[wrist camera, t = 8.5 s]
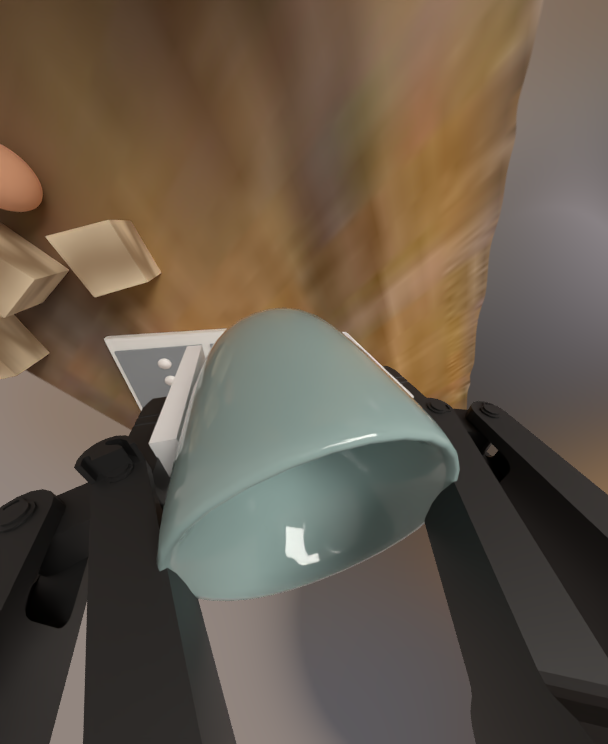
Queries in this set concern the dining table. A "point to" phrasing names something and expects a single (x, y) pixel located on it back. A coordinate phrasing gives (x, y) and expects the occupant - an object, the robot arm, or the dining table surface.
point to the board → (155, 359)
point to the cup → (294, 461)
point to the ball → (17, 183)
